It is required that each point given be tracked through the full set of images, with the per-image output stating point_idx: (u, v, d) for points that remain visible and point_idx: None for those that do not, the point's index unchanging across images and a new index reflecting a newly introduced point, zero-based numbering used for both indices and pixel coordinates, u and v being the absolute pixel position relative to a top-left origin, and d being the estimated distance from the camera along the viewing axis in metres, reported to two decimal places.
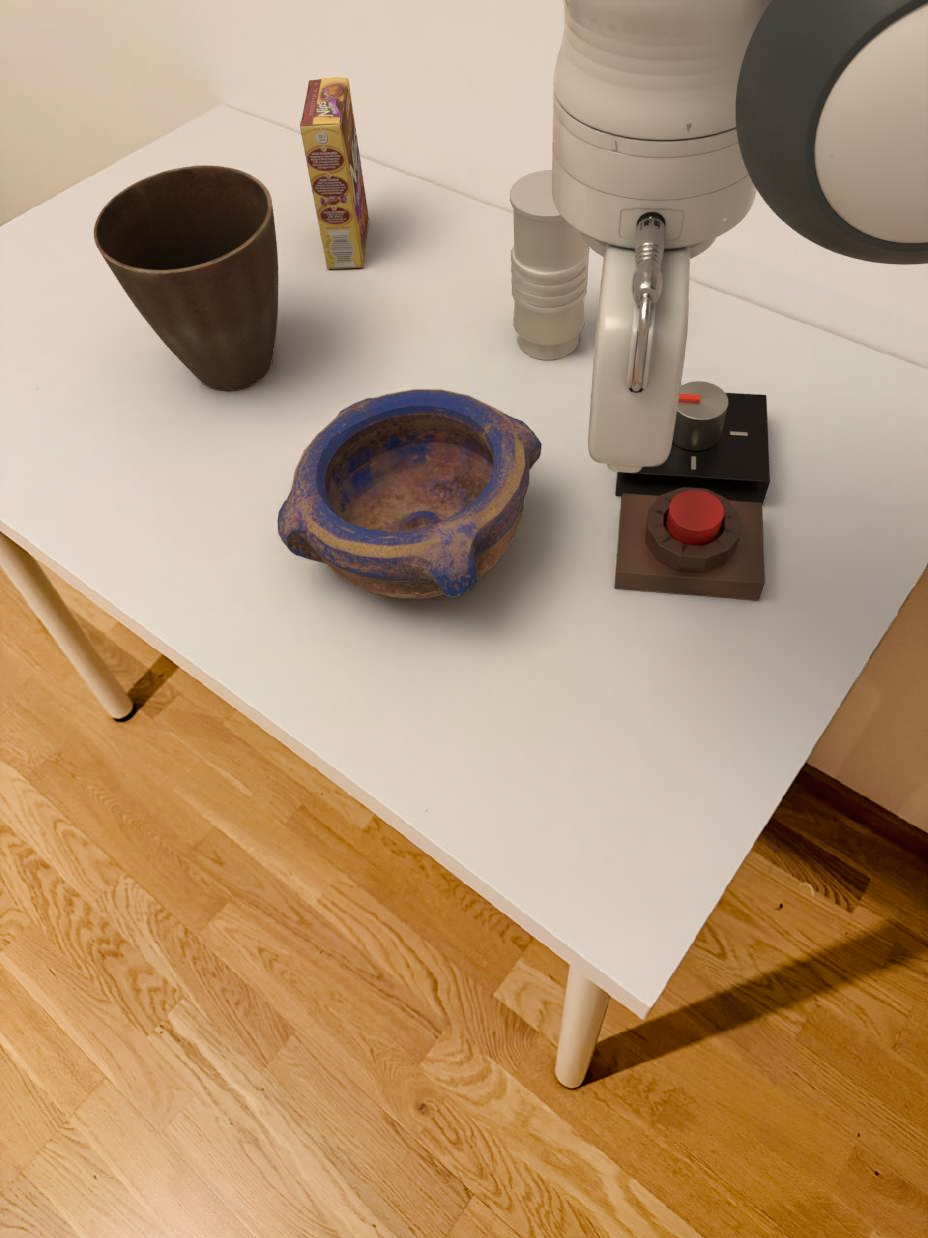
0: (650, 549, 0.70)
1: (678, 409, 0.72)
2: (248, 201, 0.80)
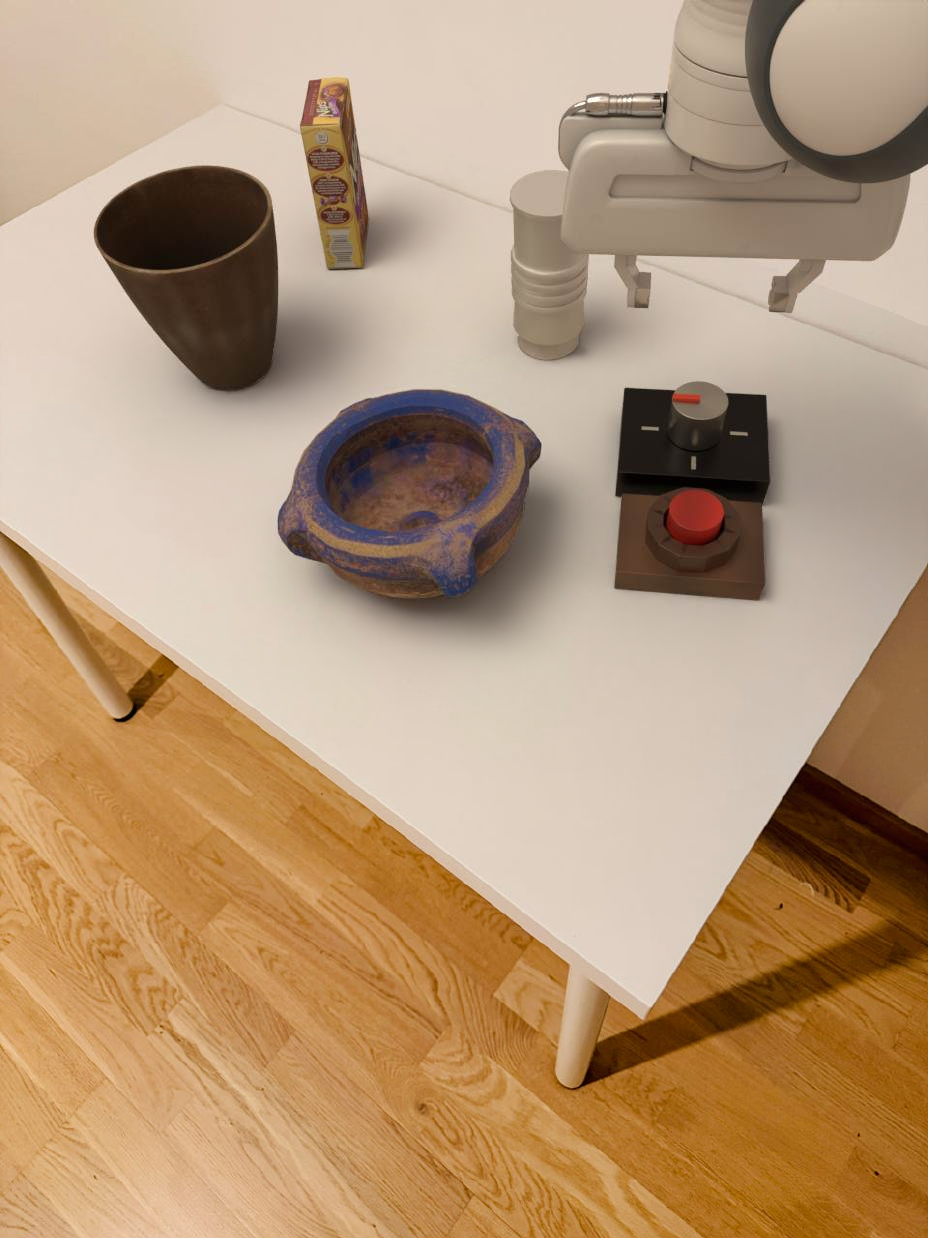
0: (650, 549, 0.70)
1: (678, 409, 0.72)
2: (248, 201, 0.80)
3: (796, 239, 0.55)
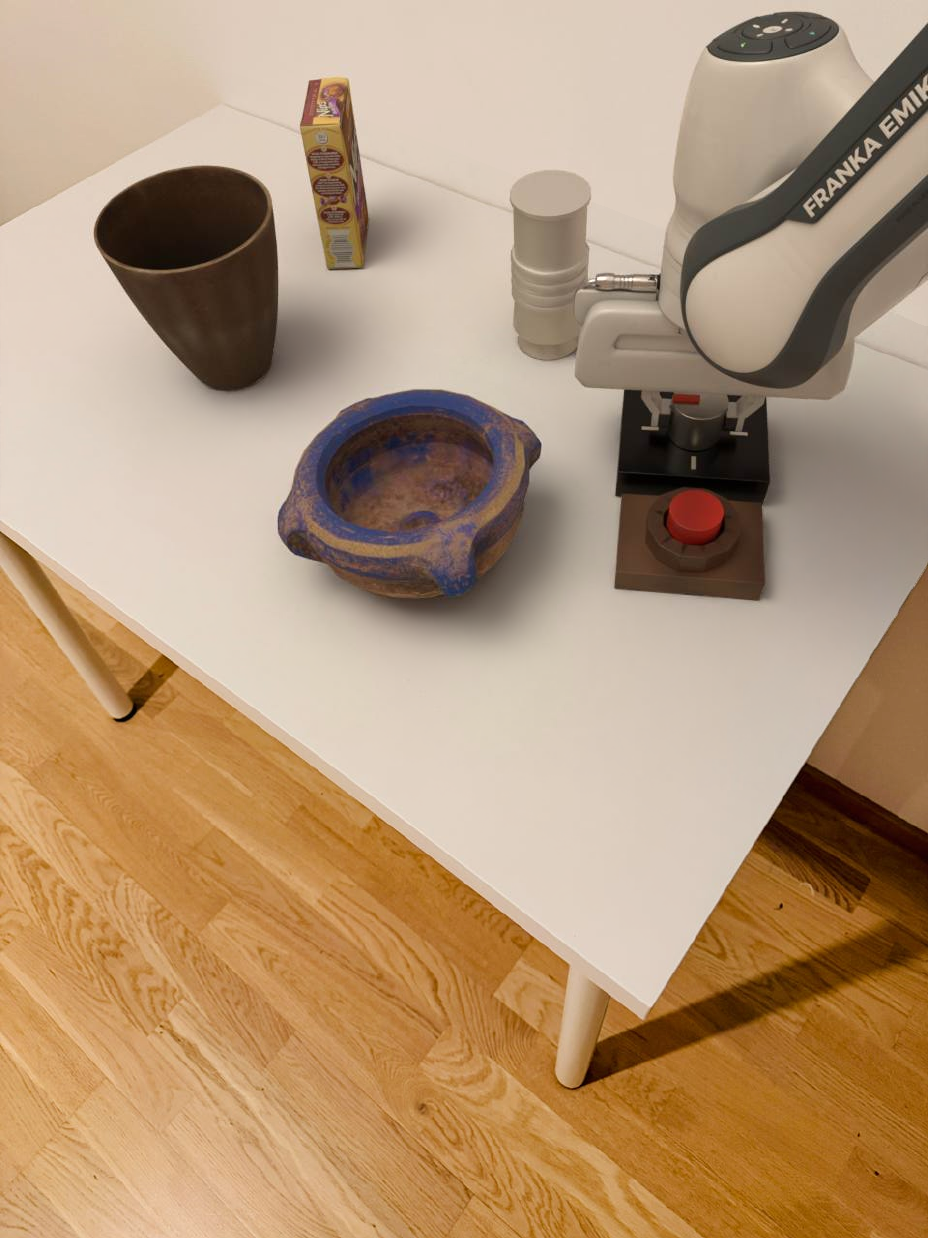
0: (650, 549, 0.70)
1: (678, 409, 0.72)
2: (248, 201, 0.80)
3: None
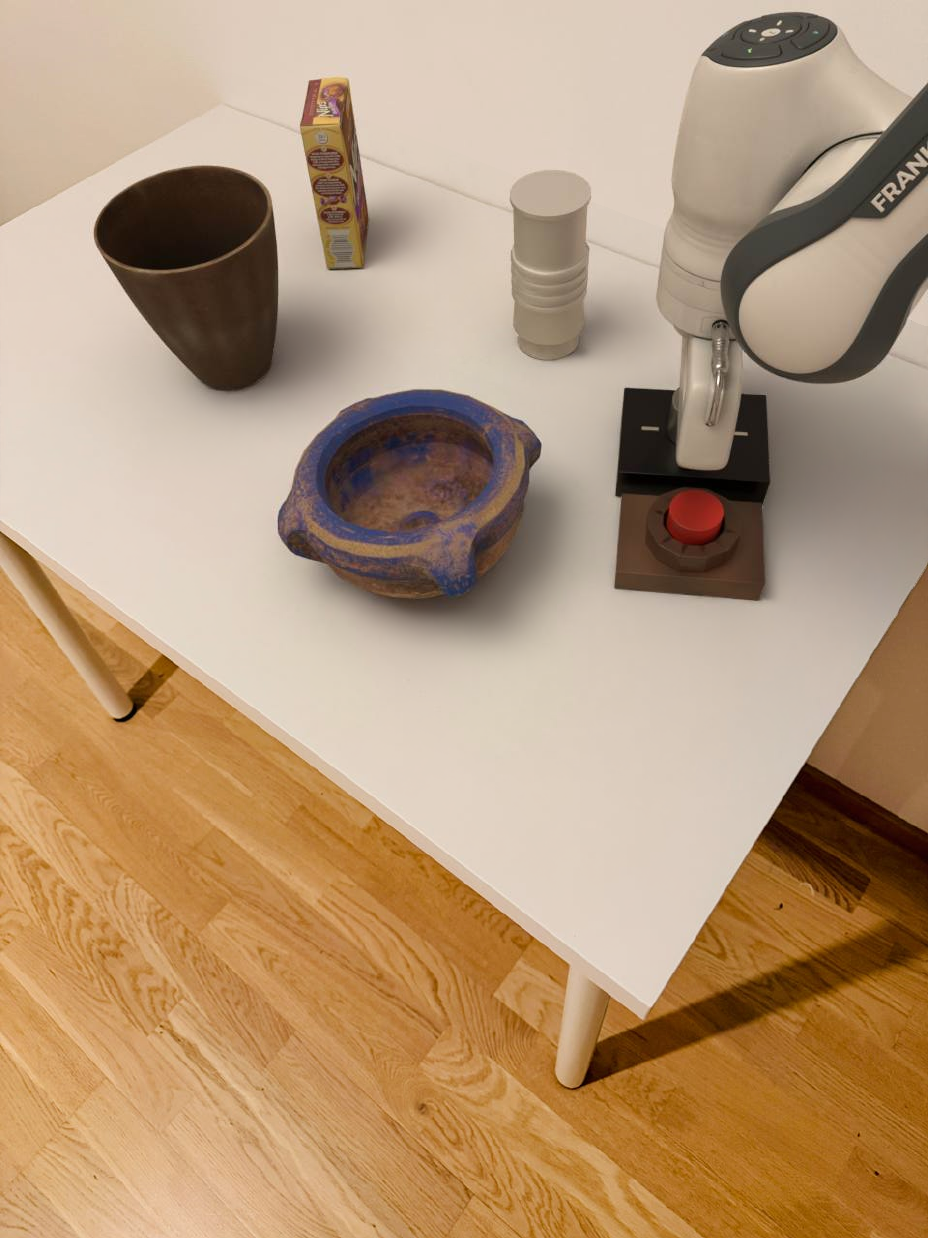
0: (650, 549, 0.70)
1: None
2: (248, 201, 0.80)
3: None
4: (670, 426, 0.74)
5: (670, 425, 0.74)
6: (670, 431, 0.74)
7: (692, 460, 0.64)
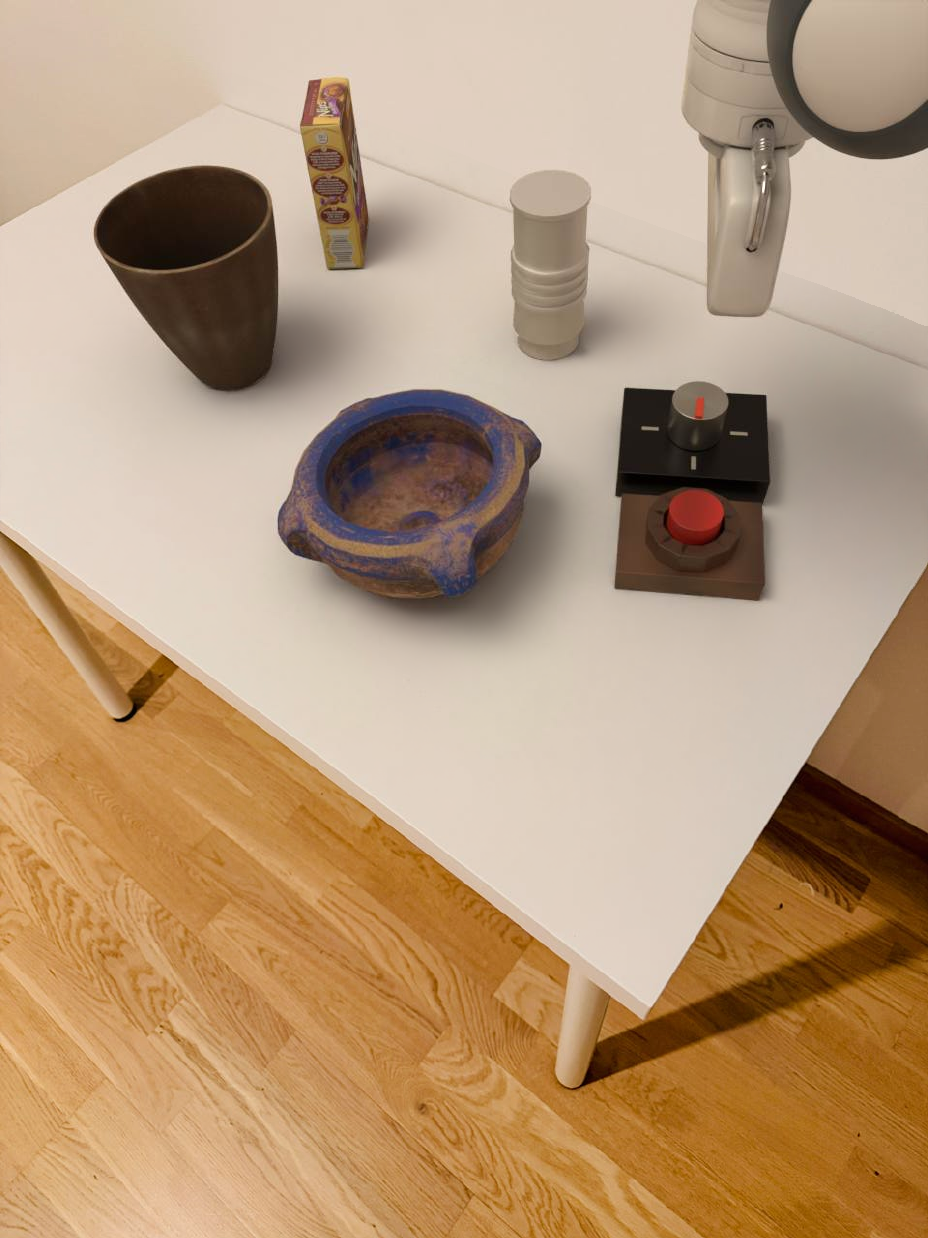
0: (650, 549, 0.70)
1: (714, 416, 0.71)
2: (248, 201, 0.80)
3: None
4: (670, 426, 0.74)
5: (670, 425, 0.74)
6: (670, 431, 0.74)
7: (728, 301, 0.53)
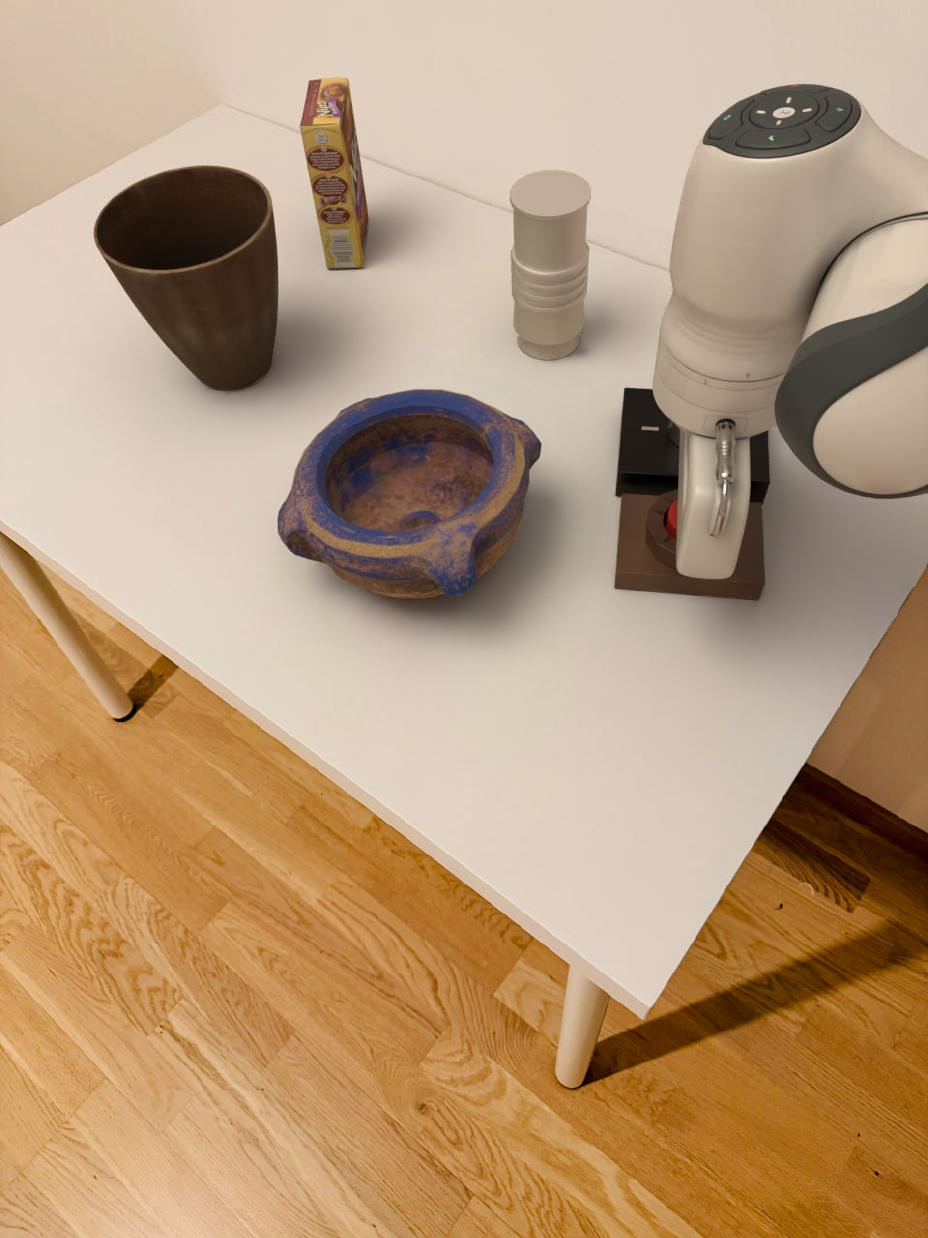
0: (650, 549, 0.70)
1: None
2: (248, 201, 0.80)
3: None
4: (670, 426, 0.74)
5: (670, 425, 0.74)
6: (670, 431, 0.74)
7: (694, 569, 0.57)
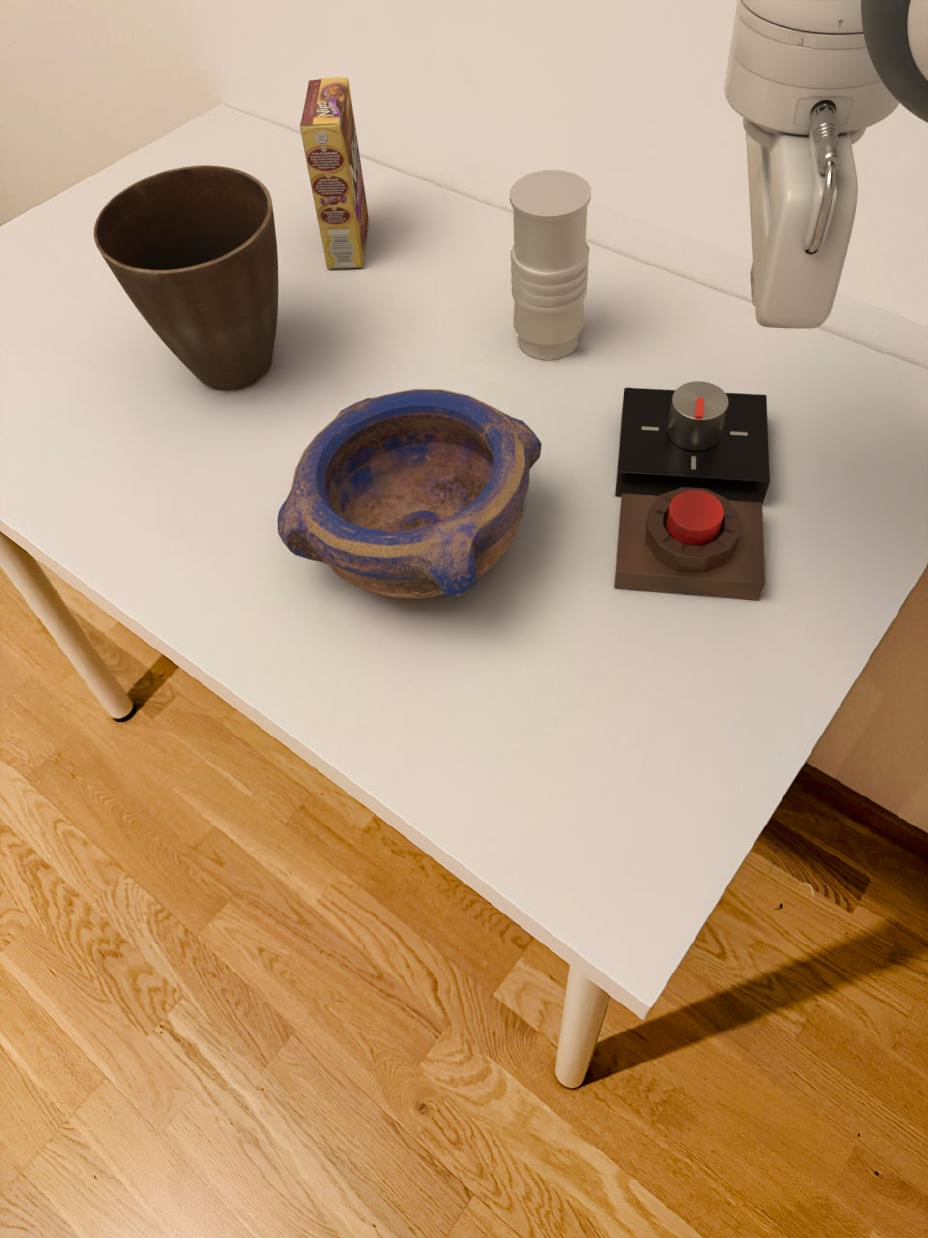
0: (650, 549, 0.70)
1: (714, 416, 0.71)
2: (248, 201, 0.80)
3: None
4: (670, 426, 0.74)
5: (670, 425, 0.74)
6: (670, 431, 0.74)
7: (782, 311, 0.46)
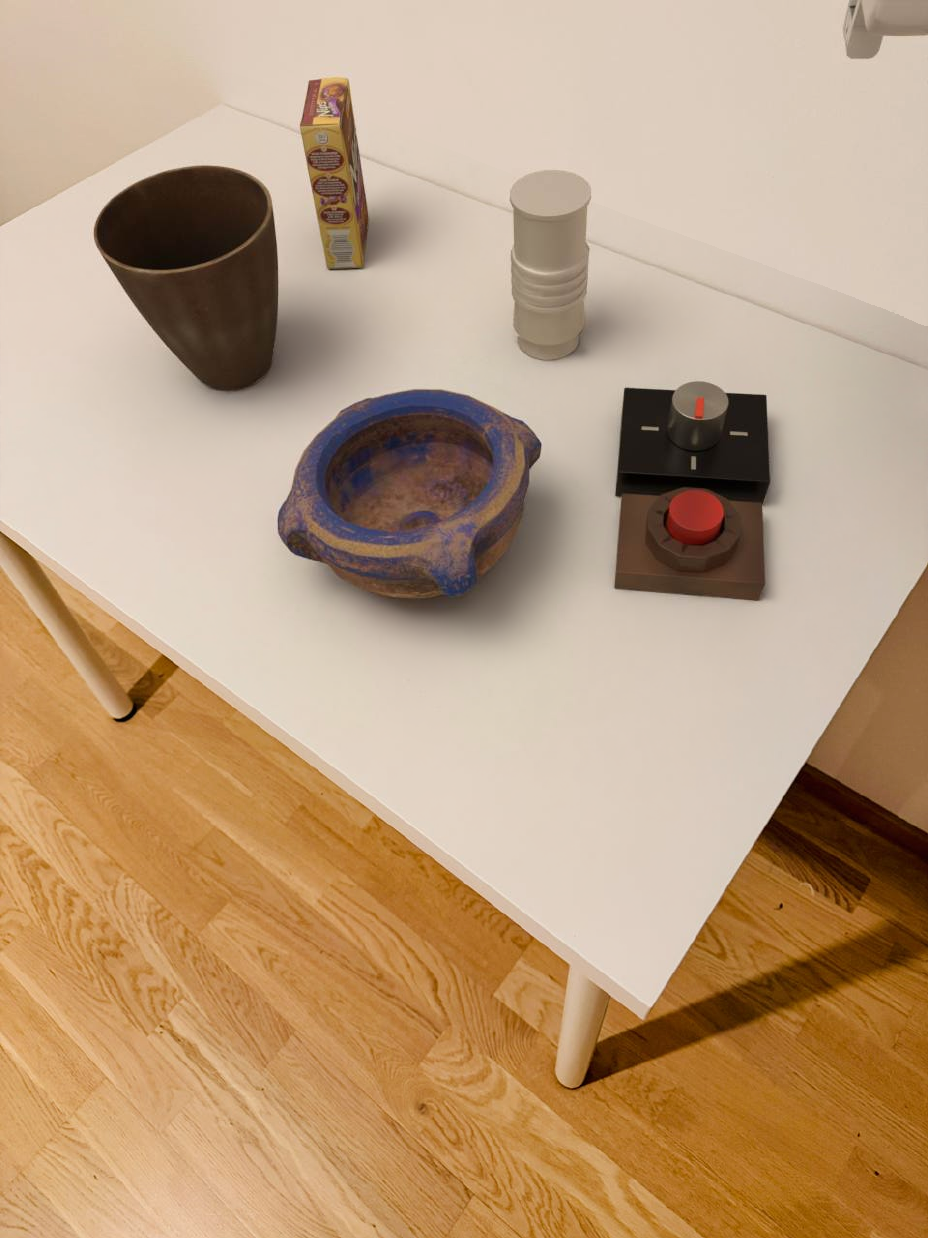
0: (650, 549, 0.70)
1: (714, 416, 0.71)
2: (248, 201, 0.80)
3: None
4: (670, 426, 0.74)
5: (670, 425, 0.74)
6: (670, 431, 0.74)
7: (899, 6, 0.42)
